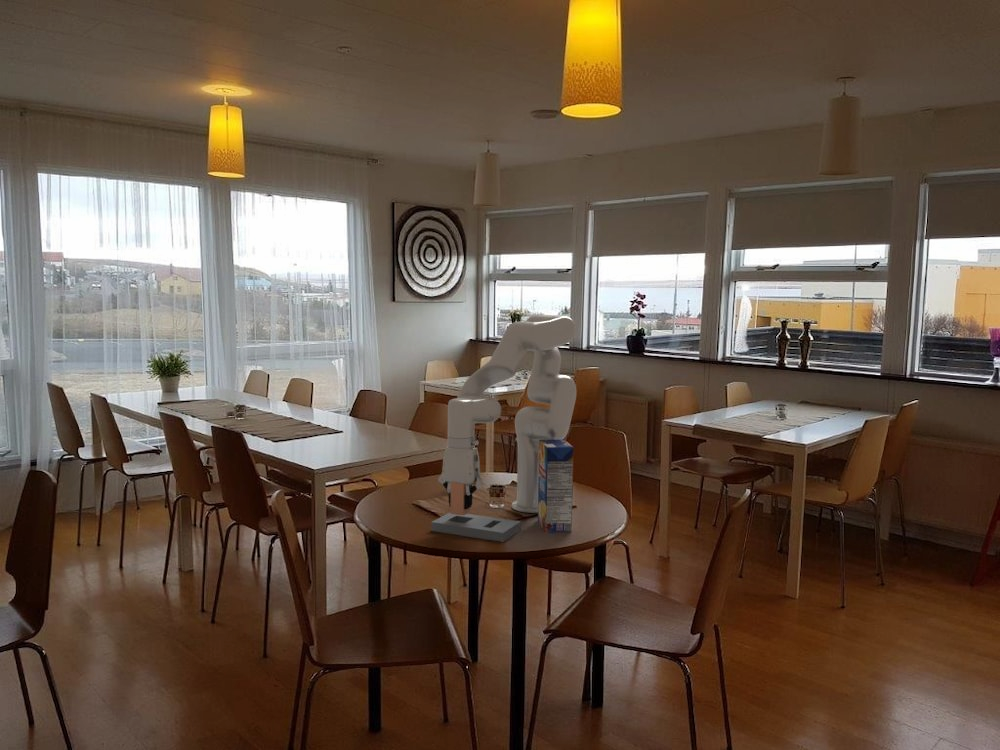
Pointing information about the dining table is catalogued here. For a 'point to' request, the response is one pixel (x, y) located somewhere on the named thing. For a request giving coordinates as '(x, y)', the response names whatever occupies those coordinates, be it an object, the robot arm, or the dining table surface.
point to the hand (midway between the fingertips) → (460, 506)
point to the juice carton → (555, 485)
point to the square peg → (458, 499)
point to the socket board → (476, 526)
